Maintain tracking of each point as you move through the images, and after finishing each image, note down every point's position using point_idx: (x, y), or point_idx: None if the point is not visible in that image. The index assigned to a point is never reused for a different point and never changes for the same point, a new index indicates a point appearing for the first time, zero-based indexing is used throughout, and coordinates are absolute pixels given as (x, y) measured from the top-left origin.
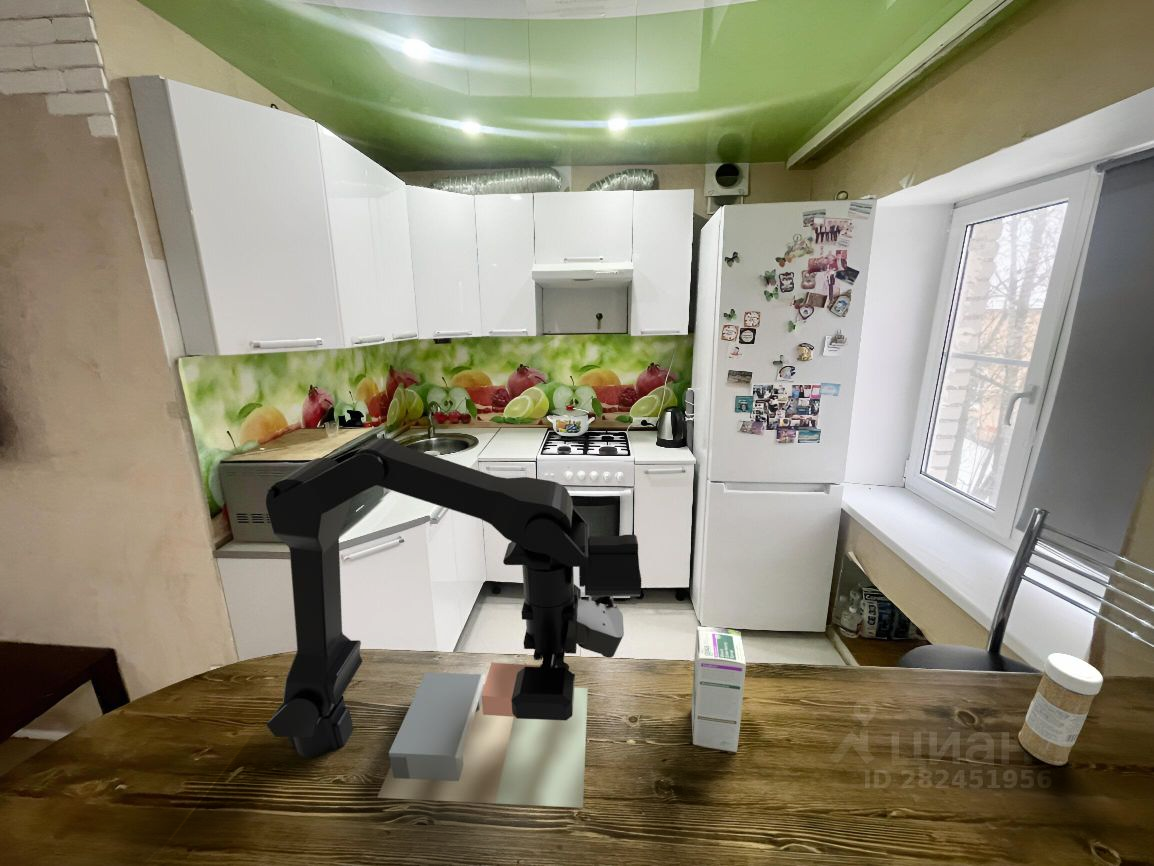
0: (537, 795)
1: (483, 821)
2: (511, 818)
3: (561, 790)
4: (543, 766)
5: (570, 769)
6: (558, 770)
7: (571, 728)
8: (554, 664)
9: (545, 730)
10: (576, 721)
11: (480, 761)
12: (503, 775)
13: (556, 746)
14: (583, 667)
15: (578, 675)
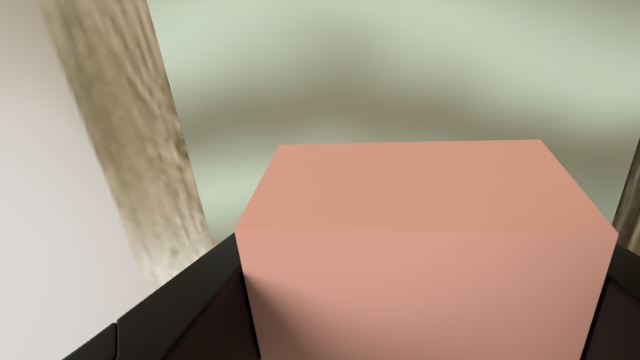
0: (604, 135)
1: None
2: (628, 189)
3: (606, 54)
4: (502, 130)
5: (524, 28)
6: (523, 76)
7: (348, 47)
8: (244, 330)
9: (364, 142)
10: (315, 29)
11: None
12: None
13: (425, 95)
14: (49, 27)
15: (94, 44)
